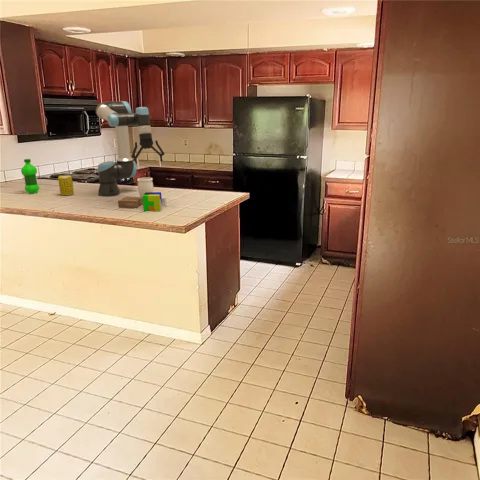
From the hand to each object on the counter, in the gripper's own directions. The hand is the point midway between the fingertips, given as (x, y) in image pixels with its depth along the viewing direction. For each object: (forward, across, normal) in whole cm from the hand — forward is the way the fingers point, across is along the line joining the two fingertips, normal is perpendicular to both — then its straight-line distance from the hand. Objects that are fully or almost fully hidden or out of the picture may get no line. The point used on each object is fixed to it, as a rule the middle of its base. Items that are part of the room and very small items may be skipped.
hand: (149, 168), depth 265 cm
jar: (+22, -8, +24) cm, 34 cm away
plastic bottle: (+10, -96, +59) cm, 113 cm away
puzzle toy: (+26, -1, -2) cm, 26 cm away
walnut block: (+23, -16, +9) cm, 30 cm away
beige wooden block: (+25, +4, +9) cm, 27 cm away
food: (+13, -68, +49) cm, 85 cm away
